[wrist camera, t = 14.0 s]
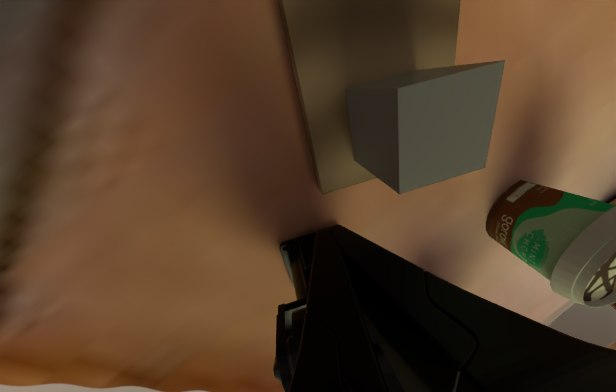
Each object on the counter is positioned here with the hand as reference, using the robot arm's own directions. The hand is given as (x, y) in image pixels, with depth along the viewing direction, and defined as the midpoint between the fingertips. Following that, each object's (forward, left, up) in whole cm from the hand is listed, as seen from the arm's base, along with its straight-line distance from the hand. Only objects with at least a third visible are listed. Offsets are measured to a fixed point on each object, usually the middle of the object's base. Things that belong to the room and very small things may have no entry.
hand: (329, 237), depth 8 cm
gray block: (+1, -8, -10) cm, 13 cm away
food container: (-16, -24, -12) cm, 31 cm away
